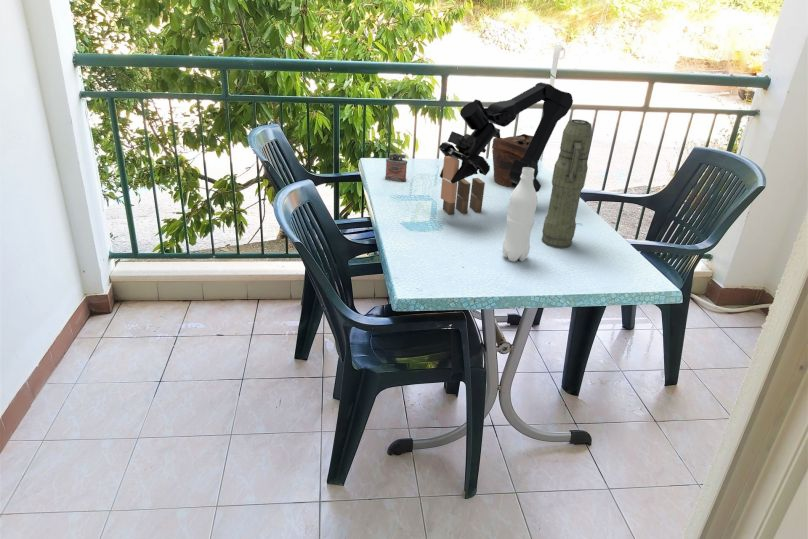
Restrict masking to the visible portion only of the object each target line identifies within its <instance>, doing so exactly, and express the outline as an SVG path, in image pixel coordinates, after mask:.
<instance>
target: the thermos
mask: <svg viewBox="0 0 808 539" xmlns="http://www.w3.org/2000/svg"><path fill="white" fill-rule="evenodd" d="M592 137H593V126H592V123H590V122H589V121H587V120H584V119H570V120H569V121H567V123H566V125H565V127H564V129H563V131H562V136H561V142H560V147H559V149H560V152H559V154H558V158H557V160H556V161H555V163H554V168H553V171H552V172H553V173H552V178H551V184H552V187H551V188H552V189H551V194H550V200H549V203H548V204H549V206H548V209H547V214H546V216H545V217H544V218H545V219H544V222H543V227H542V235H541V243H543V244H545V245H546V246H547V247H548V246H549V247H552V248H557V249H566V248H569V247H571V246H572V244H573V238H574V237H575V234H576V232H575V231H576V228H577V224H576V223H577V222H576V217H577V213H578V209H579V208H578V207H579V203H580V197H581V192H582V190H583V189H584V187H585V185H586V184H585V183H586V178H587V173H588V158H589V157H588V154H589V152H590V149H591V148H590V147H591V144H592Z"/></svg>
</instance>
